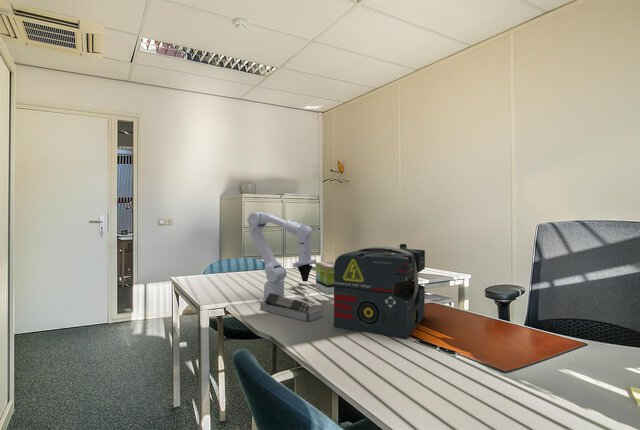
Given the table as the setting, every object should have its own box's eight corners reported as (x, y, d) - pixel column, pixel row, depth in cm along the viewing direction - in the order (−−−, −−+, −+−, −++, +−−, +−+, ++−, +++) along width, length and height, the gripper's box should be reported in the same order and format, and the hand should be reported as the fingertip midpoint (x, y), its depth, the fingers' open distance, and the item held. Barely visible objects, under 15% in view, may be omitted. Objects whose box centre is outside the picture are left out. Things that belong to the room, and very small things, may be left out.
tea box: (315, 288, 198) (315, 262, 198) (331, 287, 203) (331, 260, 202) (327, 294, 185) (327, 266, 185) (344, 293, 189) (344, 264, 189)
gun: (273, 300, 163) (268, 288, 156) (312, 315, 156) (309, 303, 149) (268, 309, 160) (263, 297, 153) (308, 324, 153) (304, 312, 146)
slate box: (258, 309, 158) (258, 302, 158) (273, 305, 165) (273, 298, 165) (308, 322, 141) (308, 314, 140) (322, 316, 148) (322, 309, 148)
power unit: (333, 326, 136) (333, 246, 135) (360, 308, 160) (361, 241, 159) (407, 339, 122) (408, 251, 122) (425, 318, 147) (425, 244, 146)
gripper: (300, 254, 159) (301, 284, 159) (321, 250, 171) (321, 279, 171) (289, 253, 164) (289, 282, 164) (309, 250, 175) (309, 277, 175)
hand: (304, 281), depth 168 cm, fingers closed
